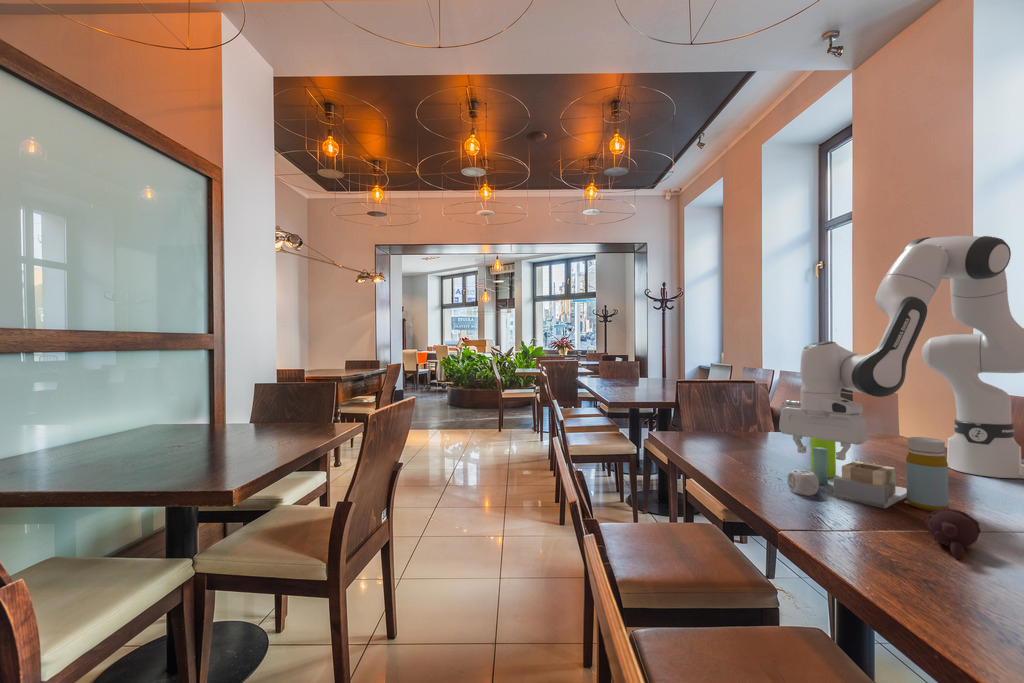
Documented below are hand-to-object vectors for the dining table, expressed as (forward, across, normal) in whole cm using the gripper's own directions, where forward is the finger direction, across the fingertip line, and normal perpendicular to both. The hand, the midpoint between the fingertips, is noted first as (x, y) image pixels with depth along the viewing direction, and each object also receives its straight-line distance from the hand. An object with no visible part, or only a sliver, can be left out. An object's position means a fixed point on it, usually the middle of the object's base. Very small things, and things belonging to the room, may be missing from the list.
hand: (820, 456), depth 124 cm
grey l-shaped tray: (+7, +12, 0) cm, 14 cm away
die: (+8, +1, -11) cm, 14 cm away
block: (+6, +12, -3) cm, 13 cm away
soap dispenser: (+7, -4, +10) cm, 13 cm away
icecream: (+8, +32, -21) cm, 39 cm away
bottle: (+8, +22, +1) cm, 23 cm away
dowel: (+7, 0, +1) cm, 7 cm away
